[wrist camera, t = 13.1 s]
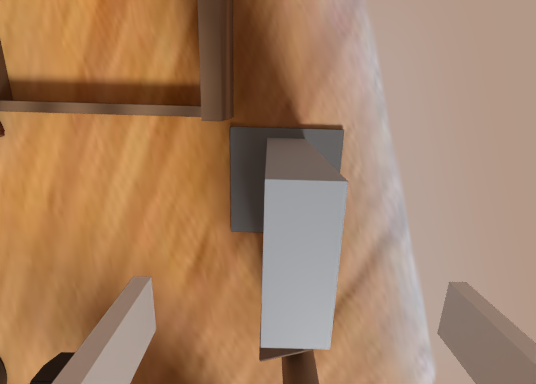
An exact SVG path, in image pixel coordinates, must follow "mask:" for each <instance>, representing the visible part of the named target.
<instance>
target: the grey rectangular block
mask: <svg viewBox="0 0 536 384" xmlns="http://www.w3.org/2000/svg"><path fill="white" fill-rule="evenodd" d="M347 188H348V181H347V180H346V179H345V178H344V177H343V176H342V175H341V174H340V173H339V172H338V171H337V170H336V169H335V168H334V167H333V166H332V165H331V164H330V163H329V162H328V161H327V160H326V159H325V158H324V157H323V156H322V155H321V154H320V153H319V152H318V151H317V150H316V149H315V148H314V147H313V146H312V145H311V144H310V143H309V142H308V141H307V140H306V139H294V138H267V153H266V169H265V195H264V234H263V273H262V312H261V348H295V349H330V344H331V335H332V326H333V317H334V308H335V298H336V289H337V280H338V271H339V262H340V252H341V243H342V234H343V225H344V216H345V206H346V197H347Z"/></svg>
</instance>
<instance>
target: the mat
mask: <svg viewBox="0 0 536 384" xmlns="http://www.w3.org/2000/svg"><path fill="white" fill-rule="evenodd" d="M343 137H344V130H336V129H301V128H266V127H230V155H231V232H261V233H264V195H265V169H266V153H267V138H294V139H306V140H307V141H308V142H309V143H310V144H311V145H312V146H313V147H314V148H315V149H316V150H317V151H318V152H319V153H320V154H321V155H322V156H323V157H324V158H325V159H326V160H327V161H328V162H329V163H330V164H331V165H332V166H333V167H334V168H335V169H336V170H337V171H338V172H339V173H340V167H341V157H342V147H343Z"/></svg>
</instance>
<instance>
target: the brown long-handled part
mask: <svg viewBox="0 0 536 384" xmlns="http://www.w3.org/2000/svg"><path fill="white" fill-rule="evenodd" d="M261 312H262V304H261ZM280 357H282V374H283V384H319V381H318V375H317V369H316V364H315V358H314V352H313V349H295V348H261V328H260V354H259V360H260V361H266V360H271V359H275V358H280Z"/></svg>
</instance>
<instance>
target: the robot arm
mask: <svg viewBox="0 0 536 384" xmlns="http://www.w3.org/2000/svg"><path fill="white" fill-rule="evenodd" d="M155 331H156V321H155V311H154V300H153V290H152V279H151V277H136V276H134V277H133V278H132V279H131V280H130V282H129V283H128V284H127V286H126V287H125V288H124V290H123V291H122V292H121V294H120V295H119V296H118V297H117V299H116V300H115V301H114V303H113V304H112V305H111V307H110V308H109V309H108V311H107V312H106V313H105V315H104V316H103V317H102V318H101V320H100V321H99V322H98V324H97V325H96V326H95V328H94V329H93V330H92V332H91V333H90V334H89V335H88V337H87V338H86V339H85V341H84V342H83V343H82V345H81V346H80V347H79V349H78V350H77V351H76V353H68V352H61V353H60V354H58V355H57V356H56V357H54V358H53V359H52V360H50V361H49V362H48V363H46V364H45V365H44V366H43V367H42V368H41V369H40V371H39V372H38V373H37V374H36V375H35V377H34V378H33V379H32V380H31V382H30V384H130V383H131V381H132V379H133V377H134V374H135V372H136V370H137V368H138V366H139V364H140V362H141V360H142V358H143V356H144V354H145V352H146V350H147V347H148V345H149V343H150V341H151V339H152V337H153V335H154V333H155ZM438 335H439V336H440V337H441V338H442V340H443V341H444V342H445V344H446V345H447V346H448V348H449V349H450V350H451V352H452V353H453V354H454V356H455V357H456V358H457V360H458V361H459V362H460V364H461V365H462V366H463V367H464V369H465V370H466V371H467V373H468V374H469V375H470V377H471V378H472V379H473V381H474V382H475V383H476V384H536V343H535V342H534V341H533V340H532V339H530V338H529V337H528V336H527V335H526V334H525V333H523V332H522V331H521V330H520V329H519V328H518V327H516V326H515V325H514V324H513V323H512V322H511V321H510V320H509V319H508V318H506V317H505V316H504V315H503V314H502V313H501V312H500V311H498V310H497V309H496V308H495V307H494V306H493V305H492V304H490V303H489V302H488V301H487V300H486V299H485V298H484V297H482V296H481V295H480V294H479V293H478V292H477V291H475V290H474V289H473V288H472V287H471V286H470V285H469V284H468V283H466V282H449V285H448V289H447V294H446V298H445V303H444V307H443V311H442V316H441V321H440V325H439V329H438ZM0 384H7V377H6V372H5V369H4V366H3V364H2V362H1V360H0Z"/></svg>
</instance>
